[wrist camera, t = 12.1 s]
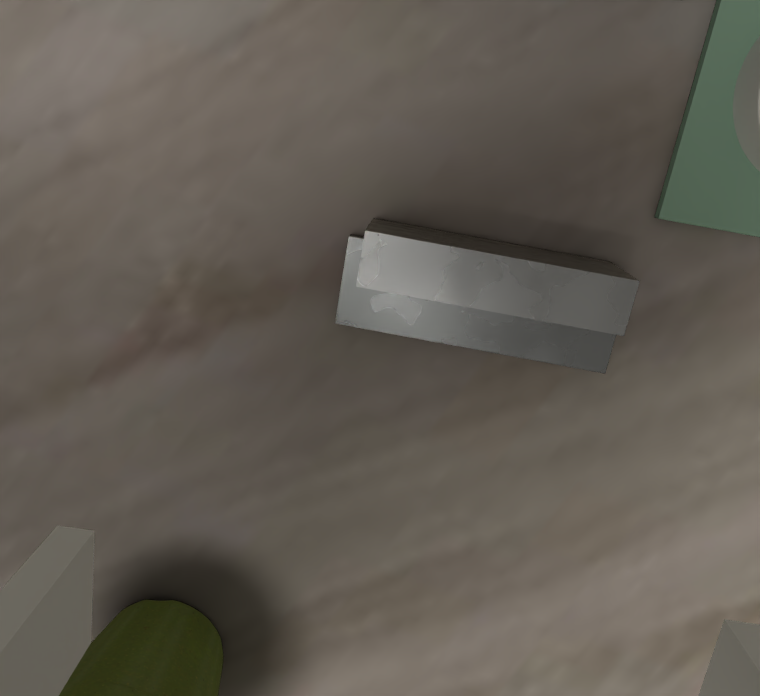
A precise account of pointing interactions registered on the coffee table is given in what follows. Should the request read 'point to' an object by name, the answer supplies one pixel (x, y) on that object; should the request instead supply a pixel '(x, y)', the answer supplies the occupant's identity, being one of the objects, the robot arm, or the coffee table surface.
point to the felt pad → (716, 134)
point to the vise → (485, 295)
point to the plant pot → (151, 654)
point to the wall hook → (749, 105)
